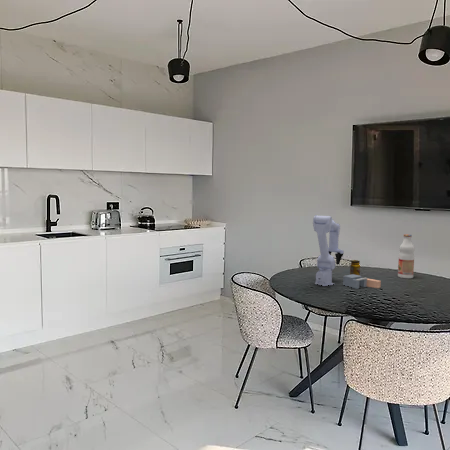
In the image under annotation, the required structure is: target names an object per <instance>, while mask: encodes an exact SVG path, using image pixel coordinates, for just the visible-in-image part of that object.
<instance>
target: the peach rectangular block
mask: <svg viewBox="0 0 450 450" xmlns="http://www.w3.org/2000/svg"><path fill="white" fill-rule="evenodd" d="M366 278H367V287H368V288H373V289H380V288H381V287H382V286H381V285H382V284H381V283H382V282H381V281H382V280H378V279H372V278H368V277H366Z"/></svg>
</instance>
